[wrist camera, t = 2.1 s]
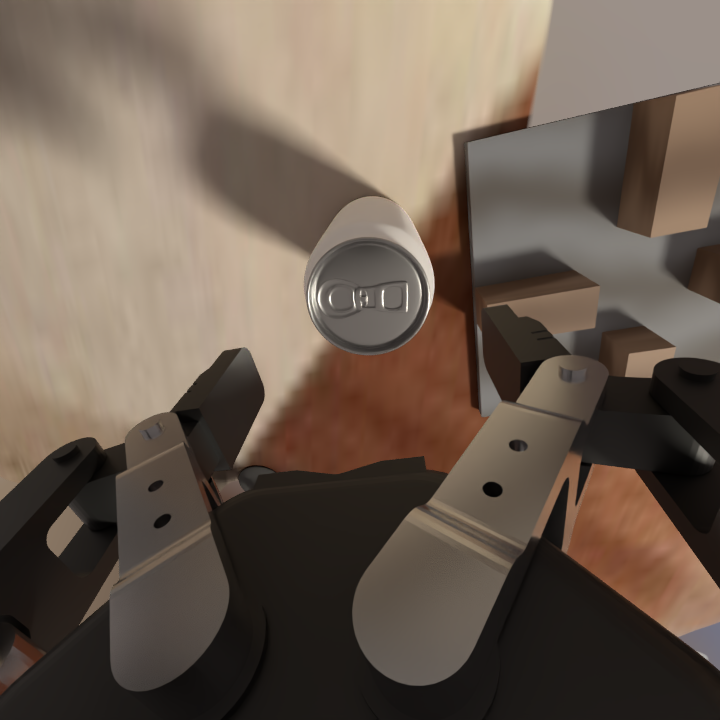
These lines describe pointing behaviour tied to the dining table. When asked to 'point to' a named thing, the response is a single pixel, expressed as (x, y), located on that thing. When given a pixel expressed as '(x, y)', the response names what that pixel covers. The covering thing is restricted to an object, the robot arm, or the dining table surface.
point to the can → (369, 278)
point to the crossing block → (603, 232)
